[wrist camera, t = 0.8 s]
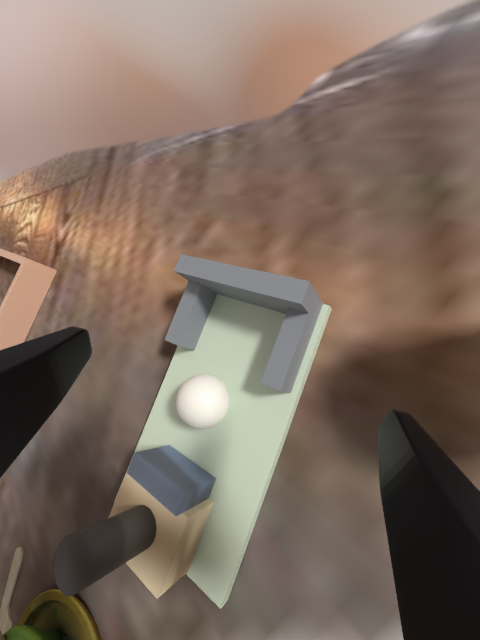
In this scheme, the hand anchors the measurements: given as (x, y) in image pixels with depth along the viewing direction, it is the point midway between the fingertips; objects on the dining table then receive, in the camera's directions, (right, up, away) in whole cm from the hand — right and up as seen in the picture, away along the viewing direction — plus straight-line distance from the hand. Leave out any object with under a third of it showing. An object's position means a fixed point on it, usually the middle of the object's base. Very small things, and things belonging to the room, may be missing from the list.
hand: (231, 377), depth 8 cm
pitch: (-2, -6, +15) cm, 17 cm away
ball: (-2, -4, +13) cm, 14 cm away
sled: (-5, -13, +13) cm, 19 cm away
